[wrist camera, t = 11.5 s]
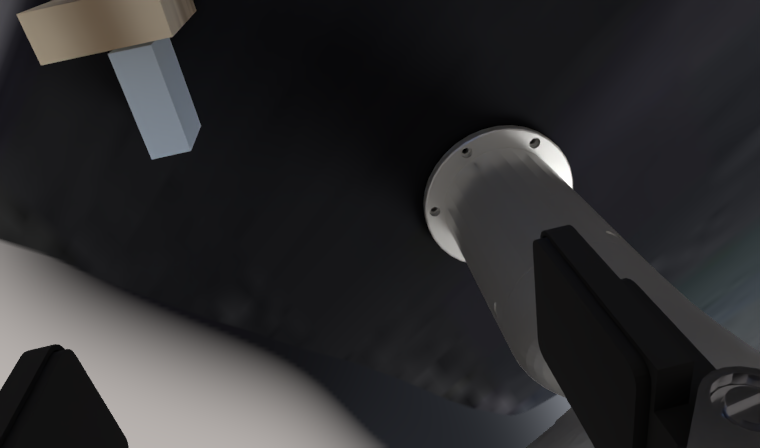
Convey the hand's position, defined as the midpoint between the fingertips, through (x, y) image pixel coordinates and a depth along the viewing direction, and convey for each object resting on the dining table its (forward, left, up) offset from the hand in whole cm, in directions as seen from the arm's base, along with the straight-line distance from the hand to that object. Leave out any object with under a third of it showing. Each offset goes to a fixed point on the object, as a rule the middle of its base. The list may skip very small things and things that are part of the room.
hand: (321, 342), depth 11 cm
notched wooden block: (+8, +7, -32) cm, 34 cm away
